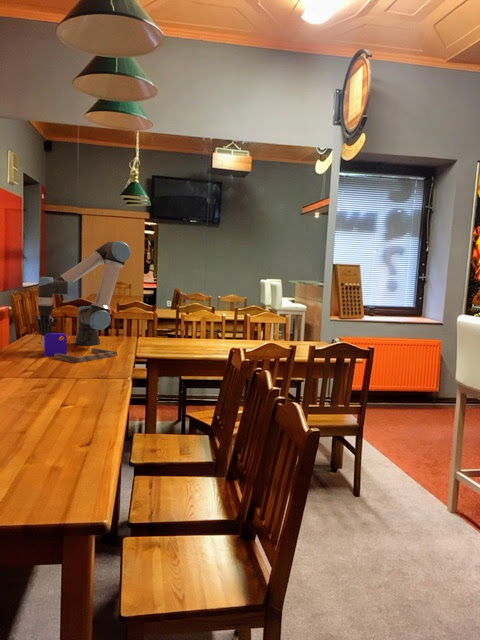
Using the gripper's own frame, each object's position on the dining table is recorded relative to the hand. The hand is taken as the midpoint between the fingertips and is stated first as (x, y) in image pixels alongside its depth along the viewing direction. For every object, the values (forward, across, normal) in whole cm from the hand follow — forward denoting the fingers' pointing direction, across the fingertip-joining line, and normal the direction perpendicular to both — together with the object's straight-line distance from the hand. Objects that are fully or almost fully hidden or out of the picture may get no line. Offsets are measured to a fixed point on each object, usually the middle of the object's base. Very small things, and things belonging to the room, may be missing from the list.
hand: (44, 347), depth 287 cm
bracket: (+2, +10, -2) cm, 11 cm away
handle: (+2, +30, +1) cm, 30 cm away
